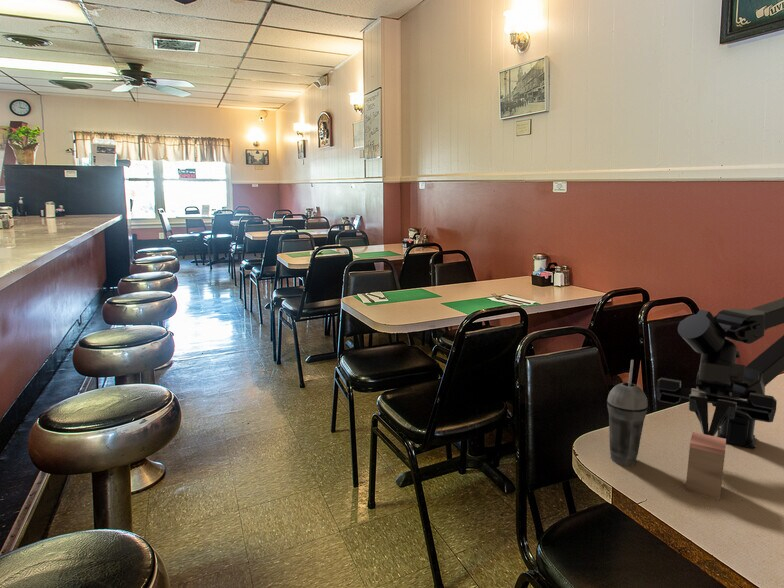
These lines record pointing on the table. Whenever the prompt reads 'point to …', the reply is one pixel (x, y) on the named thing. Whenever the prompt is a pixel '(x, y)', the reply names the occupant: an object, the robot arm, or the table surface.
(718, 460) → the wooden block
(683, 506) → the table surface
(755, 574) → the table surface
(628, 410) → the beverage cup
